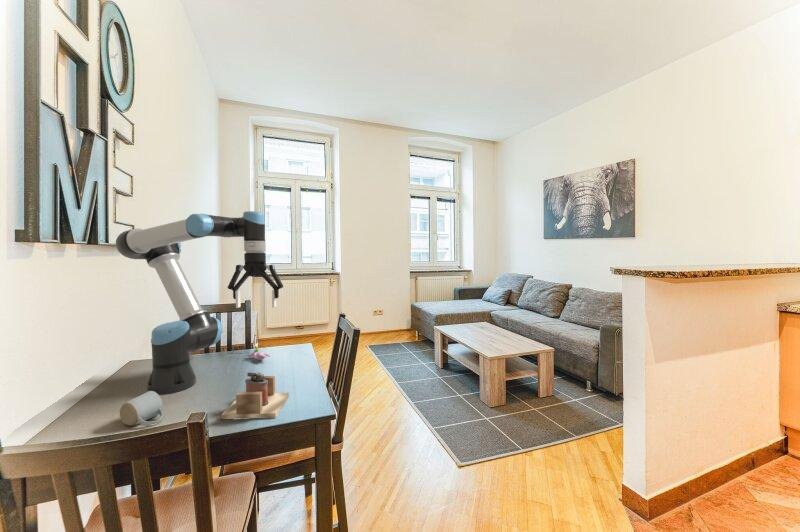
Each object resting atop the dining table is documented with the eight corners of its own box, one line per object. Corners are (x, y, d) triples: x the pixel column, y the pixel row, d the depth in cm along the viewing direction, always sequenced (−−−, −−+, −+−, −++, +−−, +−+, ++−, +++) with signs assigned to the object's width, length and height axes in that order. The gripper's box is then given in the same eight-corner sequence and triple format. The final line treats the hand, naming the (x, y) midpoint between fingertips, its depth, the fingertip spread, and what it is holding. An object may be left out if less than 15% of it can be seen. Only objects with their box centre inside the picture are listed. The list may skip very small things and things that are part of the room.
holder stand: (221, 419, 103) (220, 395, 103) (241, 398, 118) (240, 376, 118) (275, 418, 104) (275, 393, 104) (288, 396, 119) (288, 375, 119)
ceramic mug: (117, 425, 100) (116, 399, 100) (146, 412, 108) (145, 388, 107) (144, 431, 97) (143, 405, 96) (171, 418, 105) (170, 393, 104)
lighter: (270, 402, 111) (270, 372, 111) (263, 407, 108) (262, 375, 107) (251, 399, 114) (250, 369, 113) (243, 403, 111) (242, 372, 110)
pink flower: (244, 362, 161) (262, 362, 152) (242, 349, 161) (261, 349, 152) (256, 358, 166) (275, 359, 157) (255, 346, 166) (273, 345, 157)
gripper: (216, 252, 128) (218, 309, 129) (285, 252, 129) (286, 308, 130) (225, 252, 135) (227, 305, 136) (290, 251, 136) (291, 305, 138)
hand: (256, 307), depth 133 cm, fingers open, 13 cm apart
